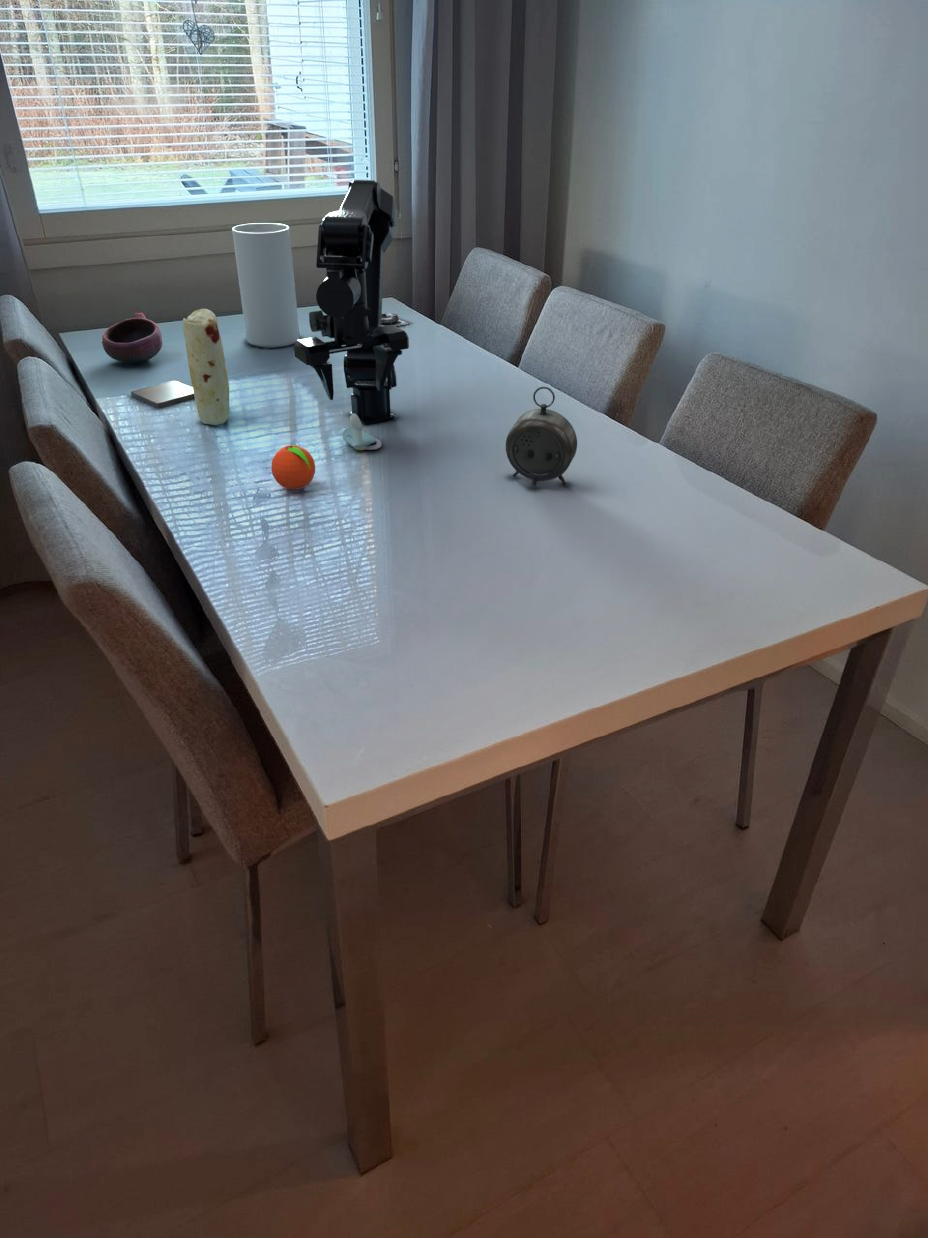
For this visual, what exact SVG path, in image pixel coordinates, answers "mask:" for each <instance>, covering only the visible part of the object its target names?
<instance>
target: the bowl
mask: <svg viewBox="0 0 928 1238" xmlns="http://www.w3.org/2000/svg"><path fill="white" fill-rule="evenodd" d="M101 339H102V340H101V344H102V349H103V351H104V352H105V354H106V355H107V356H109V357H110V358H111V359H113V360H115V361H118V362H121V363H125V364H126V363H127V364H139V363H145V362H147V361H149V360H151V359H153V358H154V357H155V356H157V355H158V354H159V353H160V351H161V350H162V347H163V344H164V343H163V334H162V331H161V329H160V327H159V325H158V324H157V323H156V322H154V321H152V320H150V319H148V318H147V316H146V315H145V314H144V313H143V312H135V313H134V314H133V316H132V317H131V318H127V319H124V320H122V321H119V322H117V323H115V324H113V325H111V326H109V327H108V328H106V330H105V331H104V333H103V334H102V338H101Z"/></svg>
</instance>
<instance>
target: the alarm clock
mask: <svg viewBox="0 0 928 1238" xmlns="http://www.w3.org/2000/svg"><path fill="white" fill-rule="evenodd" d="M544 389H545V390H547V391H549V392H550V393H551V395H552V400H551V402H550V404H548V405H547V404H546V403H541V404H540V403H538V402H537V400H536V395H537V392H539V391H540V390H544ZM532 398H533V402H534V403H535V405H536V406H538V407H540V408H534V409H531V410H528V411H525V412H524V413H523V414H521V415H520V416H519V417H518V418H517V419H516V421H515V422H514V424H513V425H512V427H511V429H510V430H509V431H508V433H507V436H506V440H505V454H506V457H507V459H508V461H509V463H510V465H511V467H512V468H513V469H514V470H515V471H514V473H512V477H513V478H516V477H517V476H518V475H519V474H520V475H521V476H522V477H524V478H526V479H528V480H532V484H531V488H532V489H534V490H535V489H536V488H537V486H538V485H537V484H538V482H549V481H552V480H555V479H558V480H559V481H561V483H562V485H563V486H566V485H567V481H566V480H565V478H564V477H565V476H563V475H564V473H566V471H567V470H568V469H569V467H570V465H571V463H572V462H573V460H574V458H575V456H576V453H577V449H578V437H577V433H576V431H575V429H574V427H573V425H572V424H571V422H570V421H569V420H568V419H567V418H566V417H565V416H563V415H562V414H561V413H559V412H557V411H555V410H552V409H548V408H549V407H551V406H552V405H554V403H555V400H556V396H555V393H554V391H553V390H552V388H550V387H548V386H545V385H544V386H539V387H537V388H536V389H535V391H533V394H532Z"/></svg>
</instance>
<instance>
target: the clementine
mask: <svg viewBox="0 0 928 1238" xmlns="http://www.w3.org/2000/svg"><path fill="white" fill-rule="evenodd" d="M270 465H271V466H270V470H271V474H272V476H273V479H274V480H275V481H276V483H278V485H280V486H281V487H283V488H285V489H287V490H291V491H292V490H300V489H304V488H305V487H307V486H308V485H309V484H310V483H311V482H312V480H313V479H314V477H315V474H316V464H315V459H314V458H313V456H312V454H311V453H310V452H309V451H308V450H307V449H305V448H304V447H302V446H299V445H296V444H294V445H293V444H292V445H291V444H290V445H284V446H283V447H282V448H280V449H279V450H277V451H276V452H275V454H274V455H273V457H272V460H271V464H270Z"/></svg>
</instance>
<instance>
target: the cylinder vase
mask: <svg viewBox="0 0 928 1238" xmlns="http://www.w3.org/2000/svg"><path fill="white" fill-rule="evenodd" d="M231 232H232V237H233V238H232V240H233V248H234V255H235V263H236V270H237V278H238V285H239V286H238V287H239V293H240V300H241V307H242V308H241V309H242V316H243V323H244V331H245V332H244V333H245V338H246V341H247V343H248V344H249V345H251V346H254V347H257V348H265V349H267V348H269V349H273V348H284V347H289V346H291V345H294V344H295V342H296V341H297V340H300V338H301V337H300V335H301V334H300V324H299V315H298V305H297V293H296V285H295V283H296V282H295V273H294V263H293V253H292V242H291V230H290V226H289V225H287V224H283V223H277V222H254V223H253V222H252V223H245V224H244V223H243V224H238V225H236V226H235V225H234V226H233V227H232V228H231Z"/></svg>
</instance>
